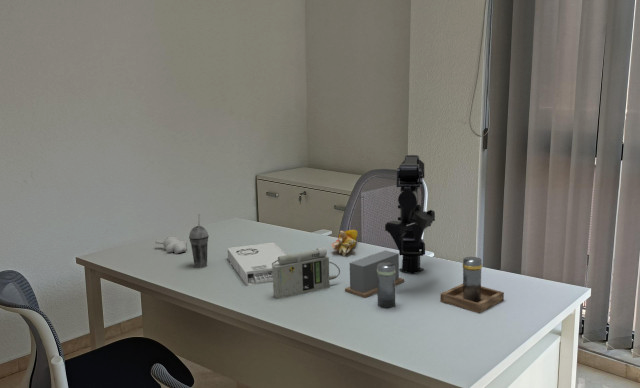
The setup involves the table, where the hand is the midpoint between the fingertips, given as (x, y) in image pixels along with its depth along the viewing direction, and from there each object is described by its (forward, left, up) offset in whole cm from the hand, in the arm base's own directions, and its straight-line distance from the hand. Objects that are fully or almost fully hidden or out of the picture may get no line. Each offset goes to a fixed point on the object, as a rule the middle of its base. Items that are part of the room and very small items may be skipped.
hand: (409, 247), depth 218 cm
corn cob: (-17, -44, -13) cm, 49 cm away
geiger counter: (+26, -22, -13) cm, 37 cm away
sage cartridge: (+19, +6, -13) cm, 24 cm away
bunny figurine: (+32, -98, -13) cm, 104 cm away
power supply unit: (+22, -52, -14) cm, 58 cm away
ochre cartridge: (-1, +24, -12) cm, 27 cm away
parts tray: (-1, +24, -13) cm, 27 cm away
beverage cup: (+36, -71, -13) cm, 81 cm away
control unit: (+9, -7, -13) cm, 18 cm away
